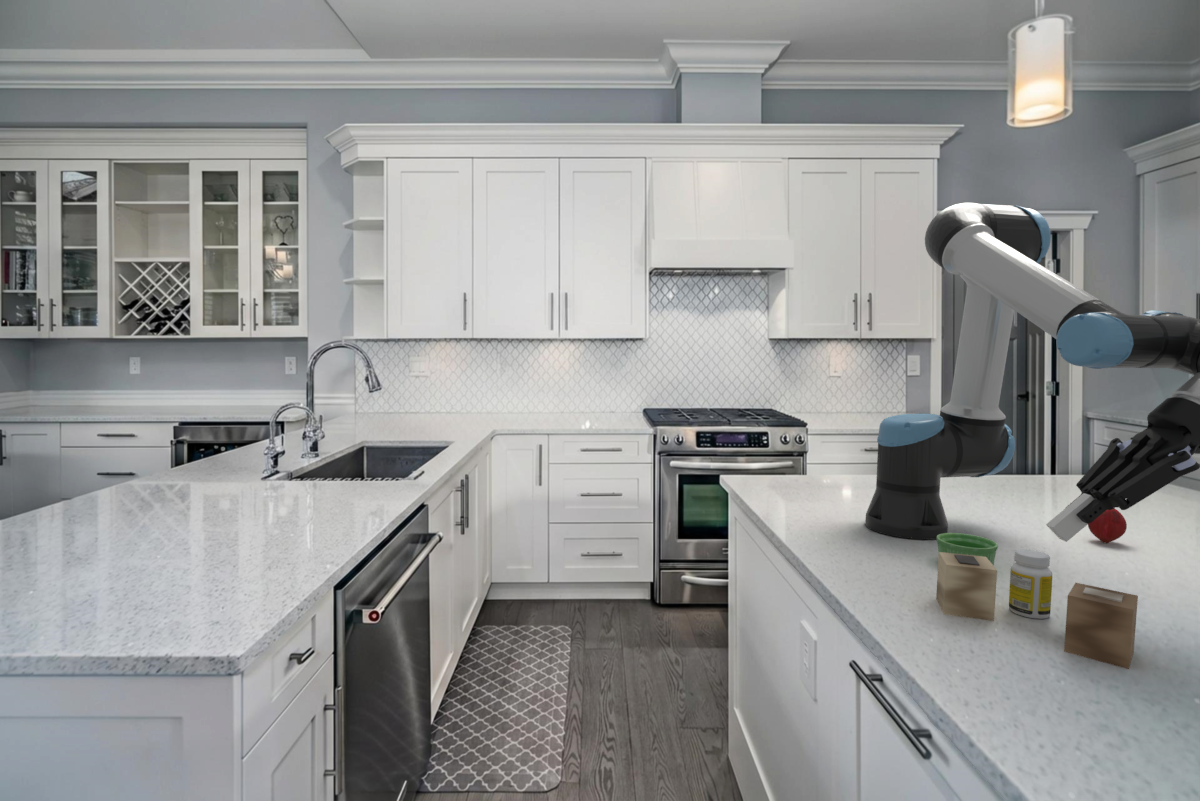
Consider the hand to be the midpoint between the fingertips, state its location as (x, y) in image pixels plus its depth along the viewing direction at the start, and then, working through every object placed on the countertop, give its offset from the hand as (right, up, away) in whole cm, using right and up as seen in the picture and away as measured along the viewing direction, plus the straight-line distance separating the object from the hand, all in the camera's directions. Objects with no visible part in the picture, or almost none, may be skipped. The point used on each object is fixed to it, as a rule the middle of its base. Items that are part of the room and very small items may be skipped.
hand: (1056, 533), depth 86 cm
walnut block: (-3, -12, -10) cm, 16 cm away
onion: (+34, -9, +34) cm, 50 cm away
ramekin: (0, -10, +21) cm, 23 cm away
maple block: (-12, -11, +2) cm, 16 cm away
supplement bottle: (-3, -11, +1) cm, 12 cm away
